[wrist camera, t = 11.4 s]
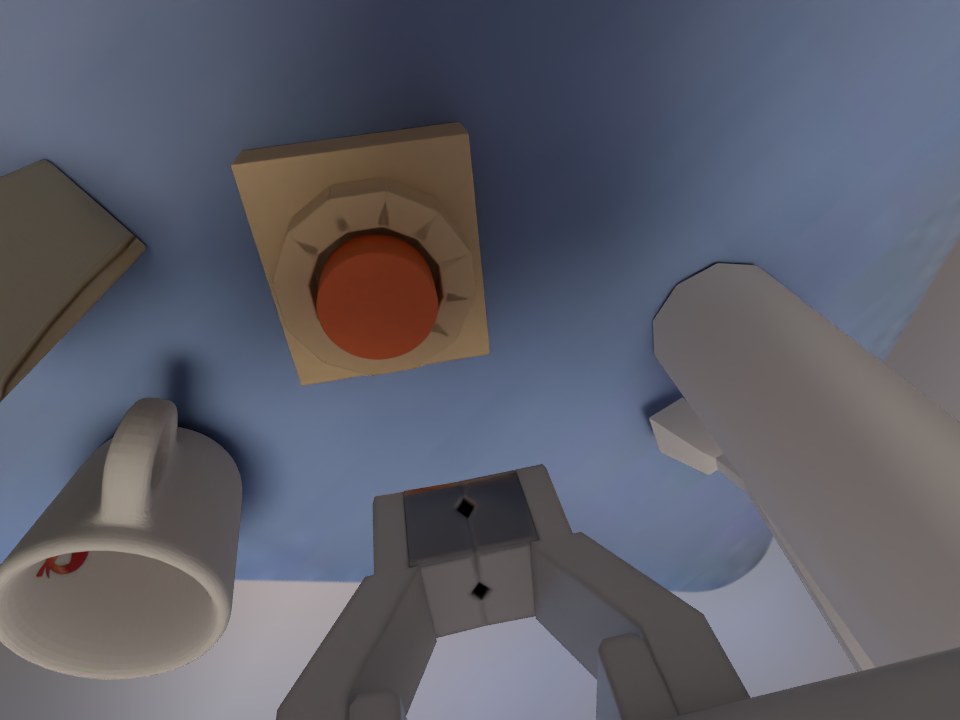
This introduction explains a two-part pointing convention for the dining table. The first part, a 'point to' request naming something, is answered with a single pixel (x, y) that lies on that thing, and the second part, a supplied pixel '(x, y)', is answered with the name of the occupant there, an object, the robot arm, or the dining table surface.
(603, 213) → the dining table surface
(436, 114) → the dining table surface
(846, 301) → the dining table surface
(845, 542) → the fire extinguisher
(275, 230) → the block
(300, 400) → the dining table surface
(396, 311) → the button
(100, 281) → the cosmetic box
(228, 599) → the cup
